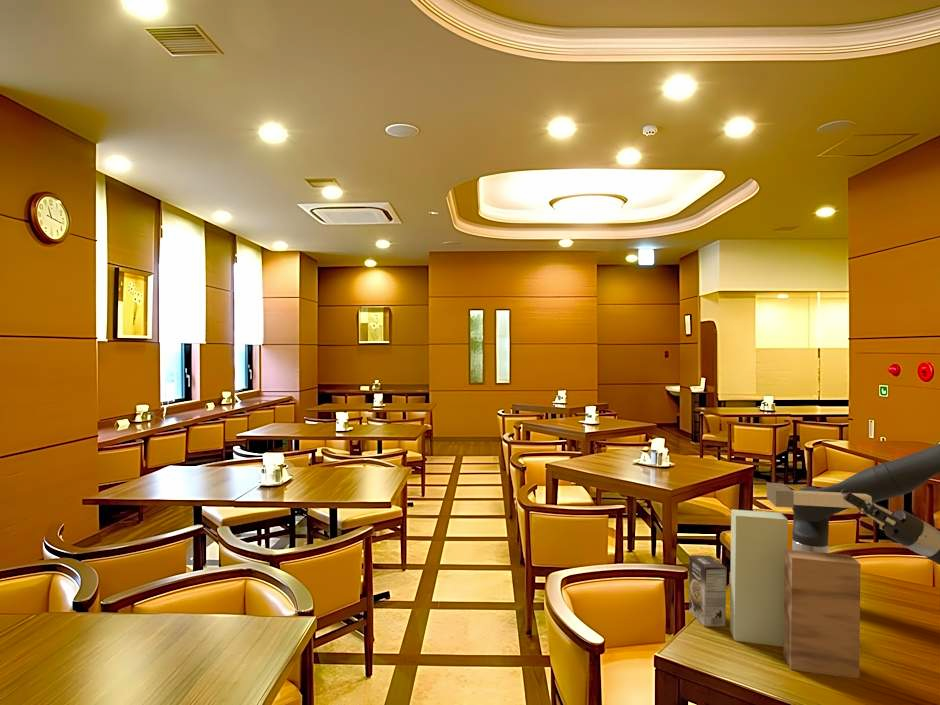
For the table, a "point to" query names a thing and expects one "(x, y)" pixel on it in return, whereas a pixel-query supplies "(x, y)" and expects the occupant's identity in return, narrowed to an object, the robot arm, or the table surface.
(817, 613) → the wood grain post
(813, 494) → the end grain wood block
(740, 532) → the beige tall block
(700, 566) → the coffee box
